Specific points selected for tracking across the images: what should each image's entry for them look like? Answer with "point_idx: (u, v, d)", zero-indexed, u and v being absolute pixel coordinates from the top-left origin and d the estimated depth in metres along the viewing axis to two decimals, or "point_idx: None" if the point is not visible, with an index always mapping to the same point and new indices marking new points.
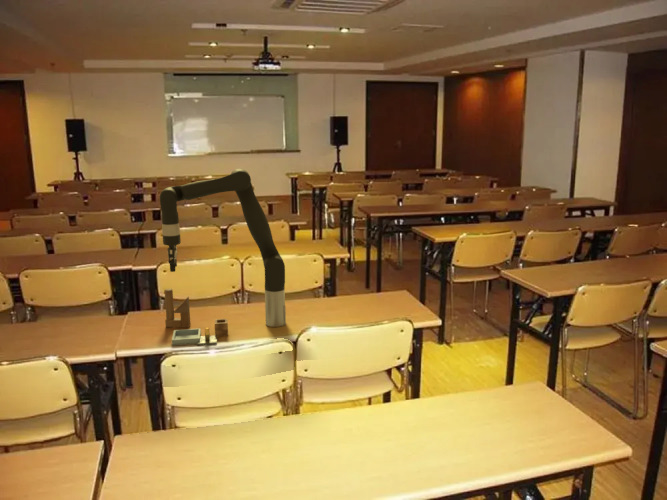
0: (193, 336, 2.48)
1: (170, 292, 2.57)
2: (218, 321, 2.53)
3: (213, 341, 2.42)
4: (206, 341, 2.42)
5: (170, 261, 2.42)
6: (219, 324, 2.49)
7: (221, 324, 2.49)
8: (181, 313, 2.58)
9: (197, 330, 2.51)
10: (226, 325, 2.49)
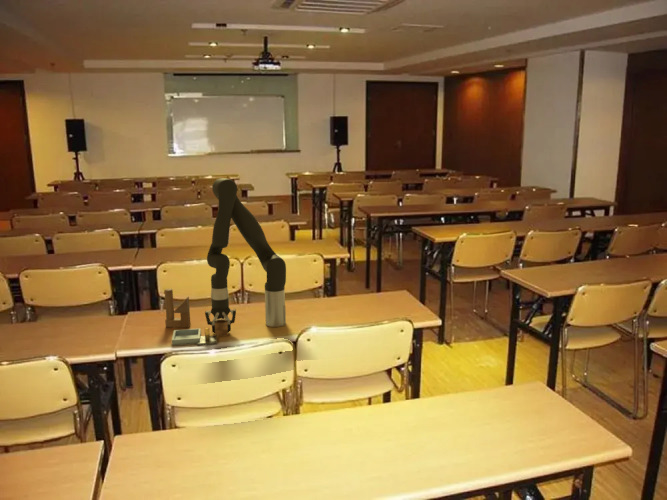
0: (193, 336, 2.48)
1: (170, 292, 2.57)
2: (218, 321, 2.53)
3: (213, 341, 2.42)
4: (206, 341, 2.42)
5: None
6: (219, 324, 2.49)
7: (221, 324, 2.49)
8: (181, 313, 2.58)
9: (197, 330, 2.51)
10: (226, 325, 2.50)
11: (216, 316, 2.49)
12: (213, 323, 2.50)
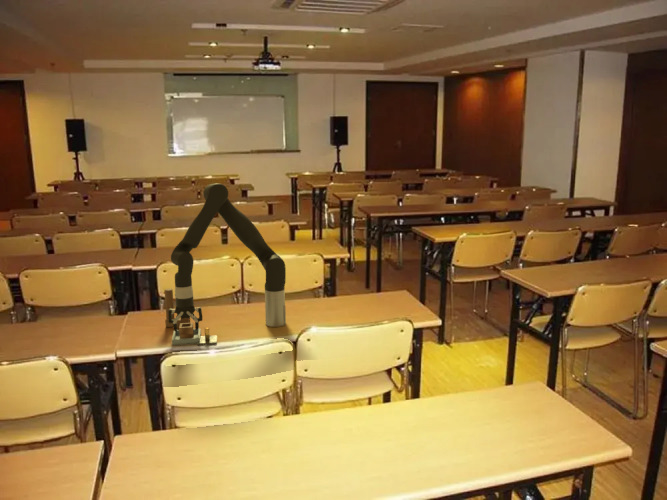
0: None
1: (170, 292, 2.57)
2: (183, 325, 2.46)
3: (213, 341, 2.42)
4: (206, 341, 2.42)
5: None
6: (184, 328, 2.42)
7: (186, 328, 2.42)
8: None
9: (197, 330, 2.51)
10: (191, 329, 2.43)
11: (179, 315, 2.41)
12: (174, 321, 2.42)
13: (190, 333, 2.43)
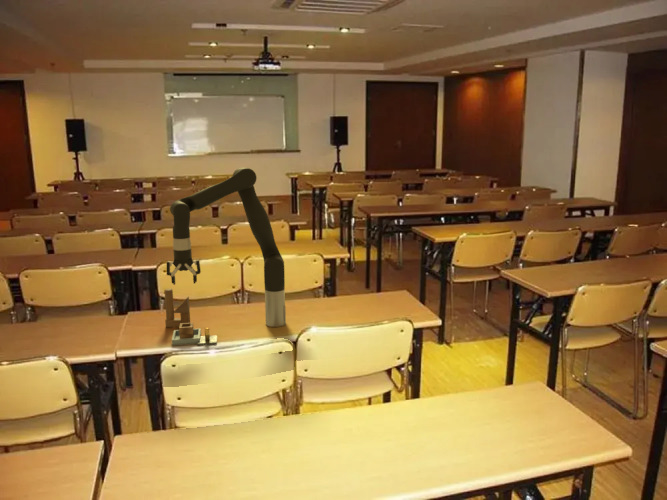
0: None
1: (170, 292, 2.57)
2: (183, 325, 2.46)
3: (213, 341, 2.42)
4: (206, 341, 2.42)
5: (200, 271, 2.45)
6: (184, 328, 2.42)
7: (186, 328, 2.42)
8: (181, 313, 2.58)
9: (197, 330, 2.51)
10: (191, 329, 2.43)
11: (178, 267, 2.42)
12: (172, 274, 2.42)
13: (190, 333, 2.43)
